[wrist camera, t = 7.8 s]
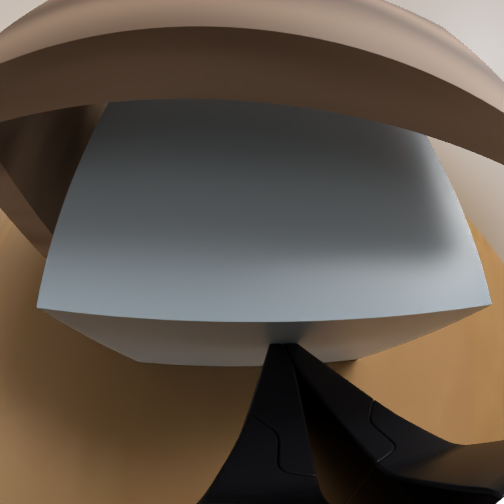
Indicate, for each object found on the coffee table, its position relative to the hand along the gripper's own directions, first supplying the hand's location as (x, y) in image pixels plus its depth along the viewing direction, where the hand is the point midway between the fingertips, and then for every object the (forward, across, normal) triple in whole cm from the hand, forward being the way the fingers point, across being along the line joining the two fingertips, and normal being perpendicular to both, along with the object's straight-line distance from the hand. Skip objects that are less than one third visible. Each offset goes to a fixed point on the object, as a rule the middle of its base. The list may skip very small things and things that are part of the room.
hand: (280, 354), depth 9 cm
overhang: (+10, 0, 0) cm, 10 cm away
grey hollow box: (+10, 0, 0) cm, 10 cm away
